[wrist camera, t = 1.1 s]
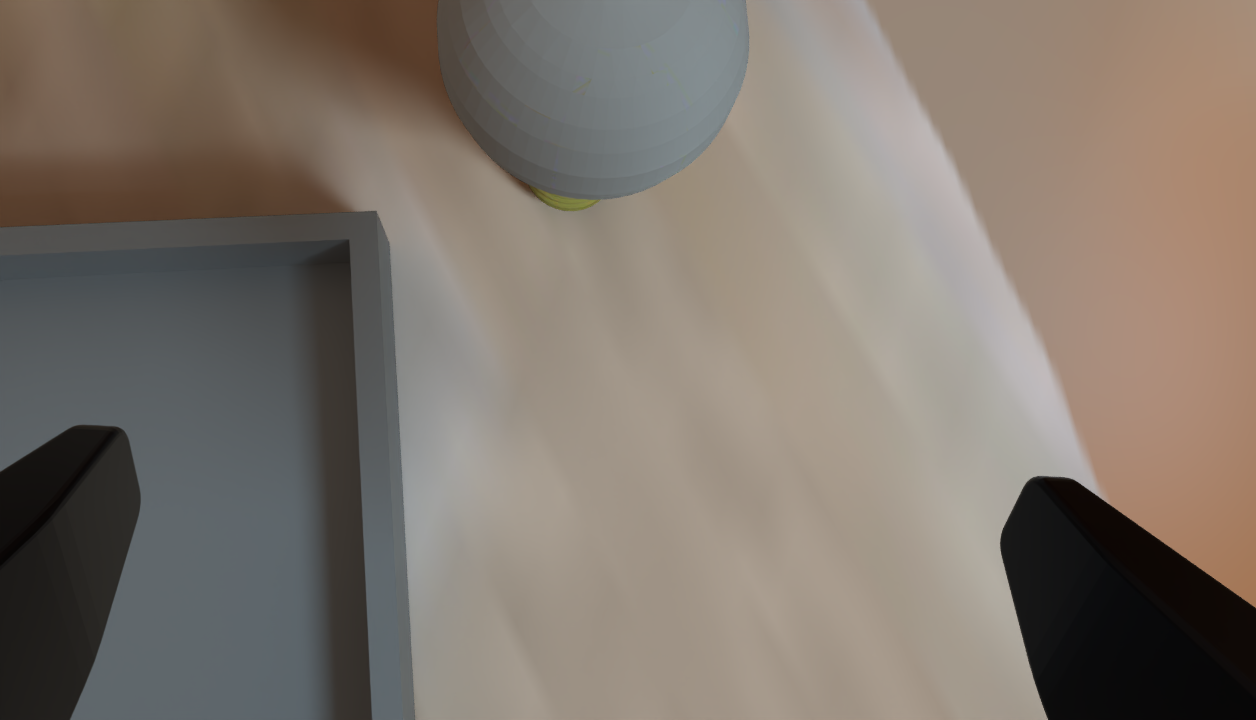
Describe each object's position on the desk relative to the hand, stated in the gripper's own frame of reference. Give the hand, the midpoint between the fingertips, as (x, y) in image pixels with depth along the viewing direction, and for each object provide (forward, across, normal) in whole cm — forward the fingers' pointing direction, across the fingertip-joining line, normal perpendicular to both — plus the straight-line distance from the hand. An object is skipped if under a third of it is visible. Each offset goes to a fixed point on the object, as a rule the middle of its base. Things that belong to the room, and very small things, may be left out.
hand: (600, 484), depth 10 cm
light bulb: (+15, 0, +4) cm, 16 cm away
